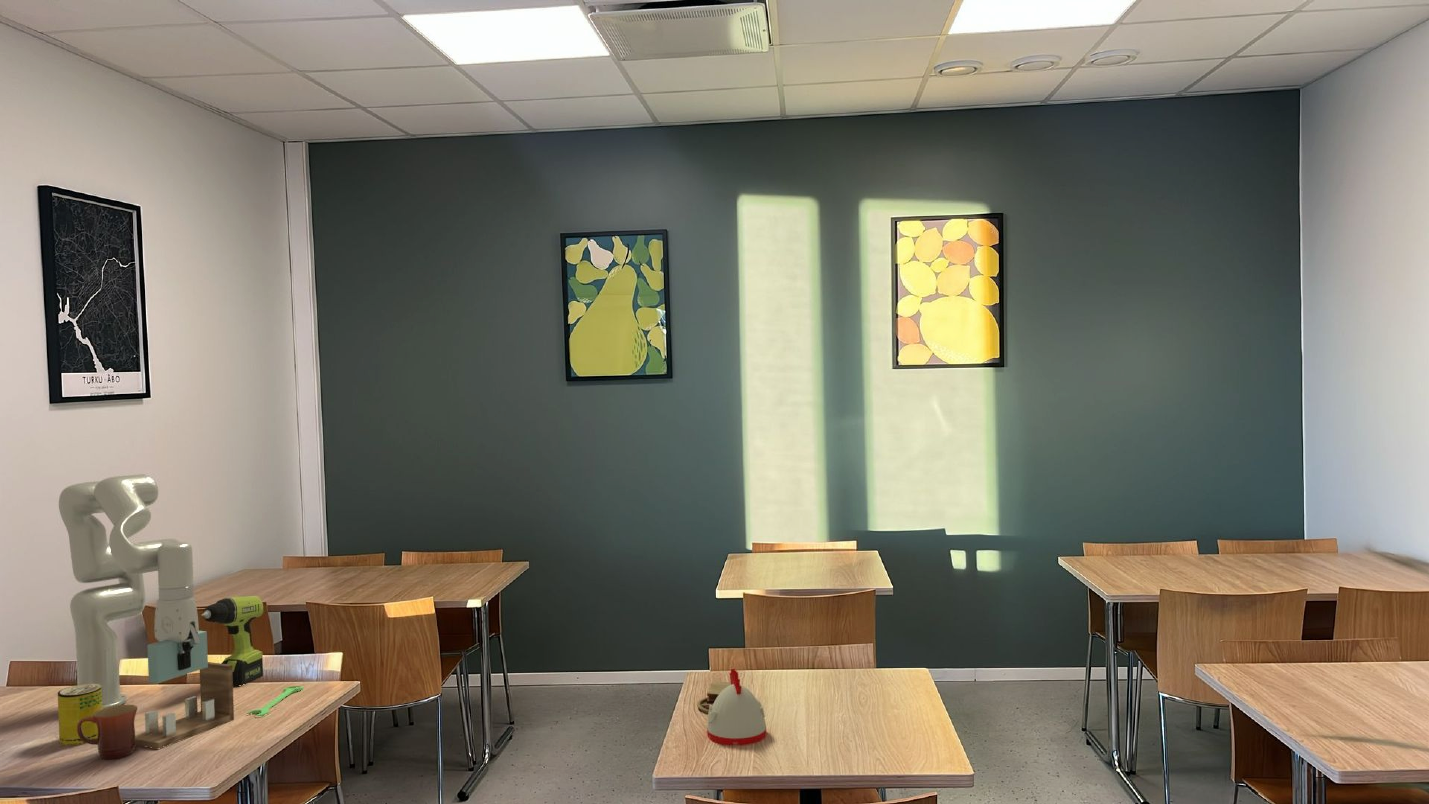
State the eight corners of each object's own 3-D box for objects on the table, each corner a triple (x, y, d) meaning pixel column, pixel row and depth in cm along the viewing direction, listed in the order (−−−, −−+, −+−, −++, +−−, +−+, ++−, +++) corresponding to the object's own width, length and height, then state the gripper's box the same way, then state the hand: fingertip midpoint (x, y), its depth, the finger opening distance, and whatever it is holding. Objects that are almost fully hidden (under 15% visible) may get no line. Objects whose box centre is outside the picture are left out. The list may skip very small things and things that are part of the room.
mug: (141, 745, 232) (140, 702, 232) (136, 758, 224) (134, 713, 224) (82, 754, 228) (80, 710, 227) (74, 767, 220) (72, 721, 219)
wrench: (243, 722, 250) (263, 722, 250) (242, 715, 250) (263, 714, 250) (288, 689, 275) (307, 688, 275) (288, 682, 275) (306, 682, 275)
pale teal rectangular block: (157, 683, 233) (156, 645, 233) (148, 682, 234) (147, 644, 234) (207, 667, 246) (206, 631, 246) (199, 666, 247) (197, 630, 247)
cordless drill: (215, 698, 267) (212, 607, 266) (192, 697, 268) (189, 606, 267) (268, 673, 289) (265, 589, 289) (247, 672, 291) (244, 588, 290)
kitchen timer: (757, 722, 239) (756, 661, 239) (773, 742, 226) (771, 677, 225) (702, 727, 236) (700, 665, 236) (714, 748, 223) (712, 682, 222)
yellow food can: (110, 730, 243) (108, 682, 243) (93, 743, 234) (91, 693, 234) (70, 733, 242) (68, 685, 241) (52, 746, 233) (50, 696, 232)
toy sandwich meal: (689, 713, 247) (689, 694, 247) (709, 697, 260) (709, 679, 259) (736, 718, 242) (735, 699, 242) (754, 701, 255) (753, 683, 255)
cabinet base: (159, 749, 229) (156, 689, 229) (128, 744, 233) (126, 685, 233) (234, 719, 249) (232, 664, 249) (205, 715, 253) (203, 661, 252)
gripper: (138, 594, 239) (141, 669, 240) (187, 598, 233) (189, 675, 234) (166, 588, 246) (168, 661, 247) (213, 592, 240) (216, 666, 241)
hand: (179, 667), depth 240 cm, fingers closed on pale teal rectangular block, 3 cm apart
